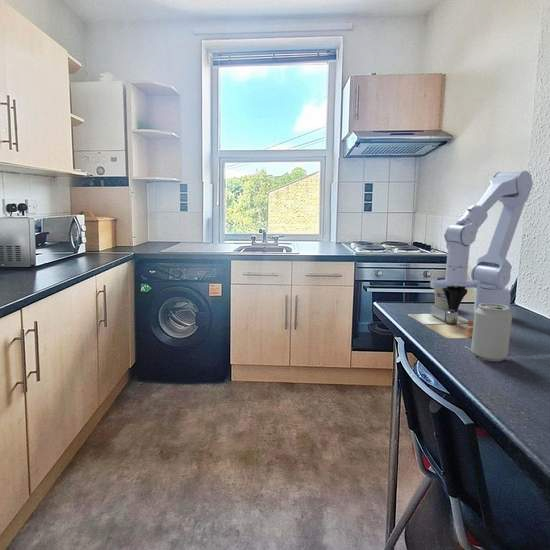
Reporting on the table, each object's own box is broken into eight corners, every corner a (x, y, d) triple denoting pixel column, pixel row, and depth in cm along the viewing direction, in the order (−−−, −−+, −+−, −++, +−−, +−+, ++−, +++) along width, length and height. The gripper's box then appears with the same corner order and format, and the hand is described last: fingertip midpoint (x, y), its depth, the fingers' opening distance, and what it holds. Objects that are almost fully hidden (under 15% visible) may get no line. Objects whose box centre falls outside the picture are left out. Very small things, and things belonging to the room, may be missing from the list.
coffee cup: (432, 305, 146) (434, 276, 144) (454, 308, 143) (457, 278, 141) (430, 310, 140) (432, 279, 138) (453, 312, 137) (456, 281, 135)
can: (511, 364, 94) (518, 310, 92) (475, 361, 96) (480, 308, 94) (501, 352, 102) (507, 302, 99) (467, 349, 103) (472, 300, 101)
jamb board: (453, 315, 133) (454, 300, 132) (501, 339, 111) (503, 321, 110) (406, 316, 131) (408, 301, 130) (446, 341, 109) (448, 323, 108)
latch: (459, 324, 120) (460, 313, 120) (449, 324, 120) (450, 313, 119) (439, 313, 131) (440, 303, 130) (429, 314, 130) (430, 304, 130)
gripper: (440, 268, 120) (436, 315, 123) (488, 268, 122) (483, 315, 125) (428, 264, 127) (424, 309, 129) (474, 264, 129) (469, 308, 131)
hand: (452, 311), depth 127 cm, fingers closed
